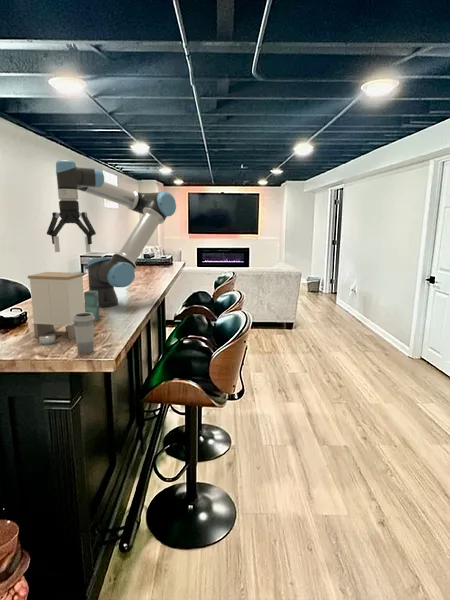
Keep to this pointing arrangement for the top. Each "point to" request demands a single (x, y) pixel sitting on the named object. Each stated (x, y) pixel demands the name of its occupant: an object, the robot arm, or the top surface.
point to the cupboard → (56, 300)
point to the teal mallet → (91, 304)
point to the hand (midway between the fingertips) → (72, 252)
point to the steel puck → (47, 339)
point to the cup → (84, 331)
